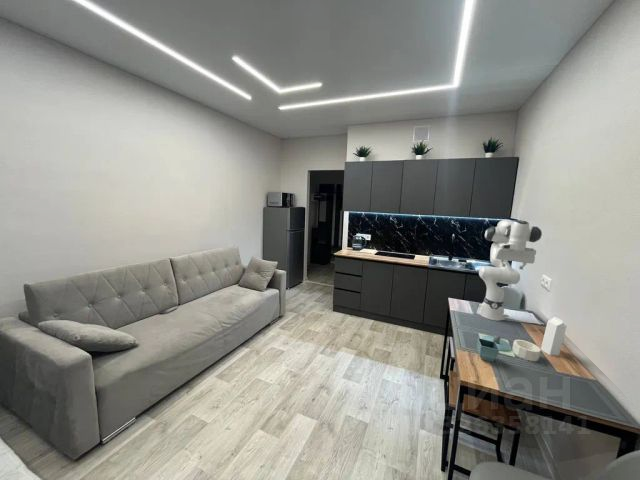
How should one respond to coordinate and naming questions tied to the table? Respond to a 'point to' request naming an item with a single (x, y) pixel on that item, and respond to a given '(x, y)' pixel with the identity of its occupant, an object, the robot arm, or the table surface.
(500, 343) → the lid
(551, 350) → the milk
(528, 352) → the bowl
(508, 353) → the mat
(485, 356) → the flower pot
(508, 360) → the table surface
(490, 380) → the table surface
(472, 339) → the table surface
